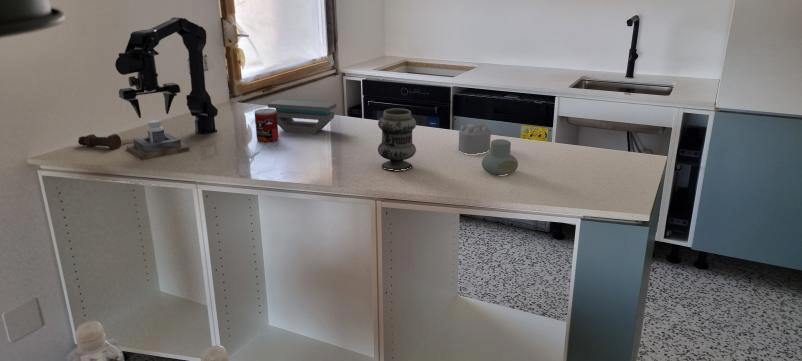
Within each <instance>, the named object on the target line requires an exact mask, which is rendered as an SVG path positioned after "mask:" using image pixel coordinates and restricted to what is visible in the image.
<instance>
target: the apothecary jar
mask: <svg viewBox="0 0 802 361" xmlns="http://www.w3.org/2000/svg"><path fill="white" fill-rule="evenodd" d="M377 126H378V129H380V130H381V142H380V144H379V145H378V147H377V152H378V155H380V156H381V157H382V158H383V159H386V160H387V161H385V162H383V163H382V164H381V166H382V167H383V168H386V169H393V170H401V169H407V168H410V167H412V166H413V164H412V163H410V162H409V161H407V160H408V159H409V160H410V159H411V158H412V157H414V155H415V154H416V153H417V147H416V145H415V144H414V143H413V131H414V129H415V128H416V127H417V121H416V119H415V118H414V117H412V111H411V110H409V109H407V108H397V107H394V108H388V109H387V108H386V109H385V110H383V115H382V116H381V117H380V119H379V120H378V121H377ZM382 167H381V168H382ZM383 168H382V169H383ZM412 168H413V167H412Z"/></svg>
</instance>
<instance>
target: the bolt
mask: <svg viewBox="0 0 802 361" xmlns="http://www.w3.org/2000/svg"><path fill="white" fill-rule="evenodd" d="M77 143H78V145H80V146H86V147H87V148H89V149H90V148H91V149H92V148H95V147H108V148H109V149H110V151H112V150H118V149H120V148H121V146H122V138H121V137H120V135H119V134H118V133H113V134H110V135H108V136H106V137H105V136H97V135H95V134H93V133H92V134H87V135H86V136H85V135H84V136H83V135H82V136H80V137H78V139H77Z"/></svg>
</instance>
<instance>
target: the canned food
mask: <svg viewBox="0 0 802 361" xmlns="http://www.w3.org/2000/svg"><path fill="white" fill-rule="evenodd" d="M254 122H255V132H256V133H255V135H256V141H257V142H258V143H261V142H262V144H268V143H267V142H271V143H275V142H278V140H279V125H278V122H277V111H276V108H261V109H257V110H256V109H255V111H254ZM274 141H275V142H274ZM263 142H264V143H263ZM265 142H266V143H265Z"/></svg>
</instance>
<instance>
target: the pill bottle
mask: <svg viewBox="0 0 802 361" xmlns="http://www.w3.org/2000/svg"><path fill="white" fill-rule="evenodd" d="M147 123H148V124H147V125H148V128H147V129H146V130H147V131H146V132H147V135H148V138H149V143H154V142H160V141H165V129H164V127H163V126H162V121H161V120H160V119H159V120H158V119H153V120H149V121H148V122H147Z"/></svg>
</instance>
